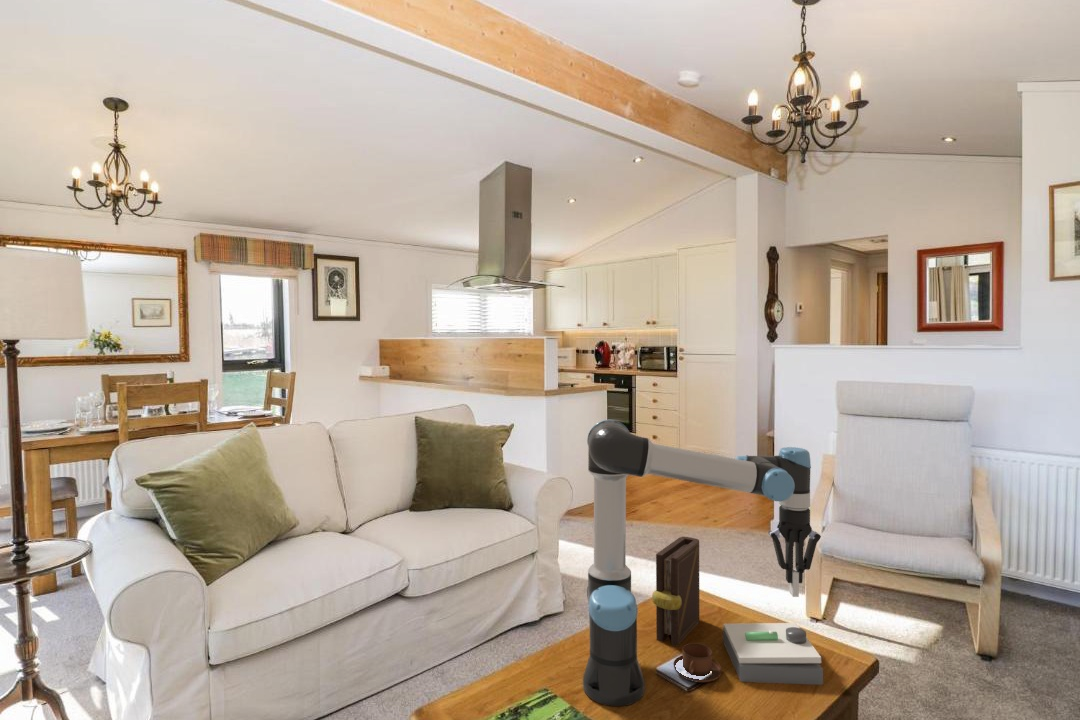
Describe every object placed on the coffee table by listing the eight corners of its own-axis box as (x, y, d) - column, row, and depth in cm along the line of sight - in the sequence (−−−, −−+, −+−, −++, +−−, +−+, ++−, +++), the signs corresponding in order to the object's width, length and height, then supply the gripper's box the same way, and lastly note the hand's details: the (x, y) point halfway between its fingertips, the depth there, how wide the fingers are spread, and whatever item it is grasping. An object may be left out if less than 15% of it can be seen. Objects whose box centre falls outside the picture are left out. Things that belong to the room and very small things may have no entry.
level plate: (739, 663, 148) (738, 649, 148) (723, 628, 166) (723, 615, 166) (821, 663, 146) (820, 648, 146) (796, 628, 164) (795, 615, 164)
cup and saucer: (723, 689, 144) (723, 665, 144) (674, 684, 147) (674, 660, 147) (719, 663, 156) (719, 640, 156) (673, 659, 159) (673, 636, 158)
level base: (740, 681, 147) (740, 666, 147) (722, 641, 167) (722, 627, 167) (822, 684, 146) (823, 669, 145) (795, 643, 165) (795, 629, 165)
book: (678, 613, 185) (678, 535, 184) (705, 620, 180) (704, 540, 179) (648, 642, 167) (648, 556, 166) (676, 652, 162) (676, 562, 161)
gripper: (814, 503, 158) (814, 589, 159) (765, 502, 159) (764, 587, 160) (825, 511, 150) (825, 601, 151) (773, 510, 152) (773, 600, 152)
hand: (794, 594), depth 155 cm, fingers closed
